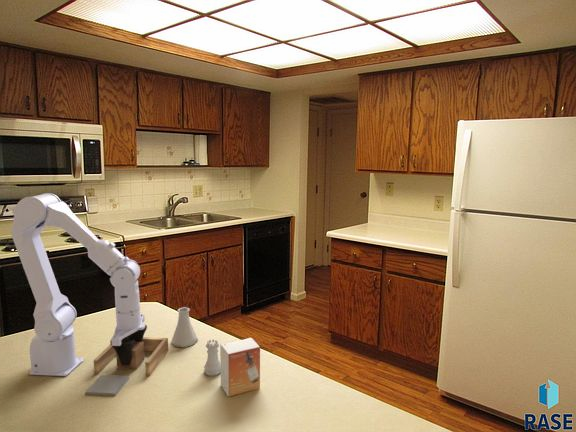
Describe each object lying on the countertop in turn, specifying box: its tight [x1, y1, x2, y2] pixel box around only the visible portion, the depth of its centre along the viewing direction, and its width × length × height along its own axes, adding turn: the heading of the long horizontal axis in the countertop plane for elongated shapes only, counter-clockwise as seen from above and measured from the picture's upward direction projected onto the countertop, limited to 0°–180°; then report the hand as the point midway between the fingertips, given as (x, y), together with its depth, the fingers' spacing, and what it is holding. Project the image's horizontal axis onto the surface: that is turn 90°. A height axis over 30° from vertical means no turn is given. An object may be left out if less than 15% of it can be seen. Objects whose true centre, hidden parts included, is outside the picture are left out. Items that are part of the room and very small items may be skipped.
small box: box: [219, 337, 261, 398], centre depth 93 cm, size 8×6×10 cm
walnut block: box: [115, 342, 146, 371], centre depth 103 cm, size 5×5×5 cm
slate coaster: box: [84, 374, 130, 397], centre depth 94 cm, size 7×7×1 cm
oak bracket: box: [93, 336, 169, 377], centre depth 105 cm, size 14×13×4 cm
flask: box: [170, 306, 199, 348], centre depth 115 cm, size 7×7×10 cm
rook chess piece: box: [203, 339, 221, 377], centre depth 100 cm, size 4×4×8 cm
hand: (130, 358), depth 104 cm, fingers closed on walnut block, 5 cm apart
